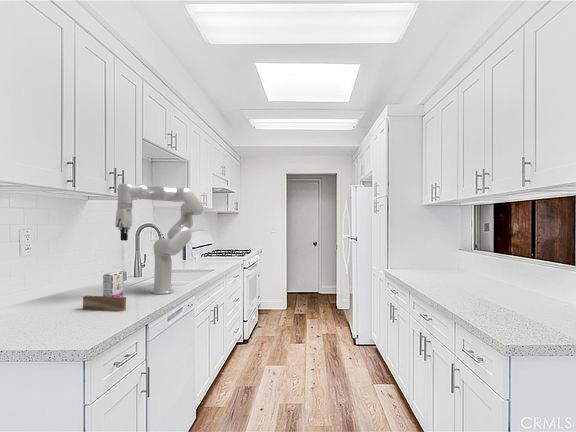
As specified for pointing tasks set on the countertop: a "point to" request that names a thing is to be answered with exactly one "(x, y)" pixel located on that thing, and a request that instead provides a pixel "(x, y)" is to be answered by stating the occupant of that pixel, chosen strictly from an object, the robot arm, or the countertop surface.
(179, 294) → the countertop surface
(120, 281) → the candy bar box
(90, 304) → the board
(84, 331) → the countertop surface
